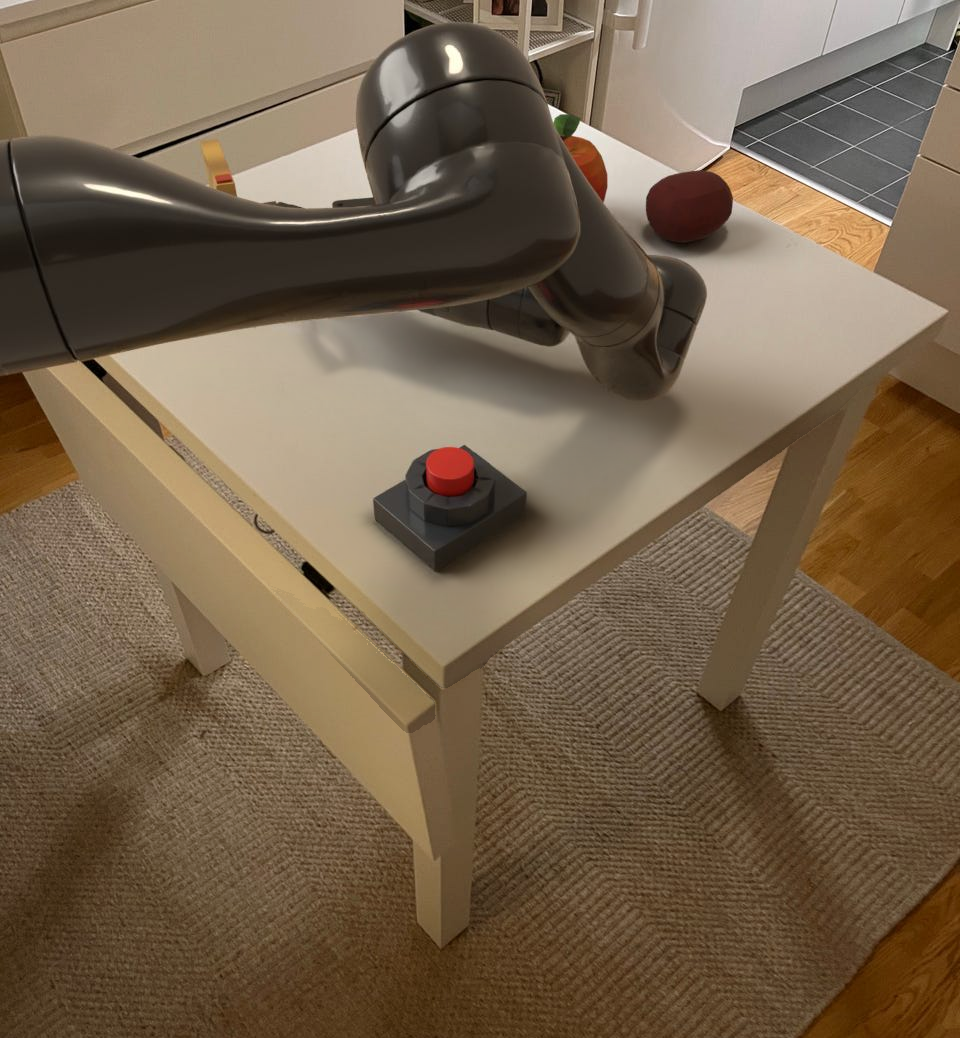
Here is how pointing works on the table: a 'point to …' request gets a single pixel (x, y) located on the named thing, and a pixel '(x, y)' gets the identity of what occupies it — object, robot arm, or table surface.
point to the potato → (688, 205)
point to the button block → (448, 511)
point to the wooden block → (217, 167)
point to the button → (450, 471)
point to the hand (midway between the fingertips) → (273, 217)
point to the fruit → (583, 153)
